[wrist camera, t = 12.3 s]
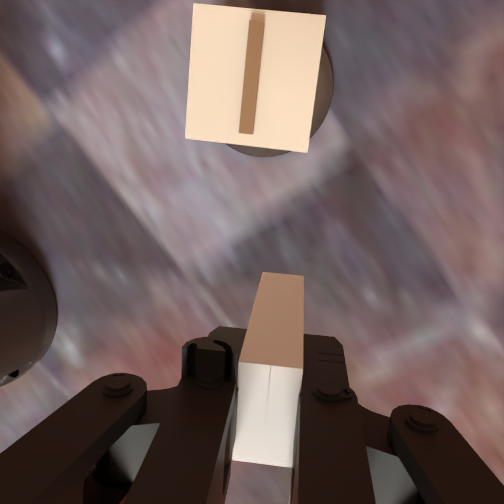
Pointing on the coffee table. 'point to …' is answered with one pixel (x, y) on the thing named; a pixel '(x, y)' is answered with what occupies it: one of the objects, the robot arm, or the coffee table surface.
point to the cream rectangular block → (253, 76)
